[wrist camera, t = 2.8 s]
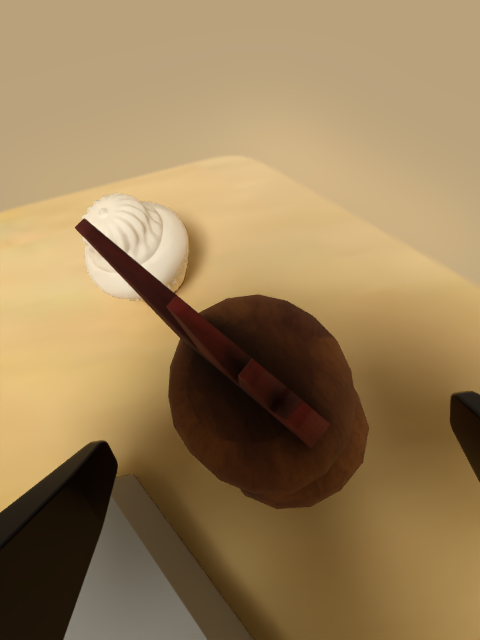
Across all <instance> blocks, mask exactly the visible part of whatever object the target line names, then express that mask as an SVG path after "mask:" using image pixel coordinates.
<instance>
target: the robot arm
mask: <svg viewBox="0 0 480 640" xmlns="http://www.w3.org/2000/svg"><path fill="white" fill-rule="evenodd" d="M450 424H451V427H452V430H453V432H454V434H455V436H456V438H457V440H458V442H459V444H460V445H461V447H462V449H463V451H464V453H465V455H466V457H467V459H468V461H469V463H470V465H471V467H472V469H473V471H474V472H475V474H476V476H477V478H478V480H479V482H480V394H477V393H475V392H472V391H465V392H457V393H454V394H452V395H451V400H450ZM117 469H118V464H117V460H116V458H115V456H114V454H113V452H112V450H111V448H110V446H109V445H108V443H107V442H106V441H103V440H101V441H94V442H90V443H89V444H87V445H86V446H85V447H83V448H82V449H81V450H80V451H78V452H77V453H76V454H74V455H73V456H72V457H71V458H69V459H68V460H67V461H66V462H64V463H63V464H62V465H60V466H59V467H58V468H57V469H55V470H54V471H53V472H52V473H50V474H49V475H48V476H46V477H45V478H44V479H43V480H41V481H40V482H39V483H38V484H36V485H35V486H34V487H32V488H31V489H30V490H29V491H27V492H26V493H25V494H24V495H22V496H21V497H20V498H18V499H17V500H16V501H15V502H13V503H12V504H11V505H9V506H8V507H7V508H6V509H4V510H3V511H2V512H1V513H0V640H64V637H65V634H66V631H67V628H68V625H69V623H70V620H71V617H72V614H73V611H74V608H75V605H76V603H77V600H78V597H79V594H80V591H81V588H82V586H83V583H84V580H85V577H86V574H87V571H88V568H89V566H90V563H91V560H92V557H93V554H94V551H95V548H96V546H97V543H98V540H99V537H100V534H101V531H102V528H103V524H104V521H105V517H106V514H107V510H108V506H109V502H110V498H111V494H112V490H113V486H114V482H115V478H116V474H117Z"/></svg>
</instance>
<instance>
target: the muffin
mask: <svg viewBox="0 0 480 640" xmlns="http://www.w3.org/2000/svg"><path fill="white" fill-rule="evenodd" d="M87 212H88V213H86V214H85V215H84V216H83V217H82V220H83V219H84V218H85V219H86V220H87V221H89V222H90V223H91V224H92V225H93V226H95V227H96V228H97V229H98V230H99V231H101V232H102V233H103V234H104V235H105V236H107V237H108V238H109V239H110V240H111V241H113V242H114V243H115V244H116V245H117V246H119V247H120V248H121V249H122V250H123V251H124V252H126V253H127V254H128V255H129V256H130V257H132V258H133V259H134V260H135V261H136V262H138V263H139V264H140V265H141V266H142V267H144V268H145V269H146V270H147V271H148V272H150V273H151V274H152V275H153V276H154V277H156V278H157V279H158V280H159V281H160V282H162V283H163V284H164V285H165V286H166V287H168V288H169V289H170V290H171V291H172V292H174V293H175V291H176V290H178V288H179V287H180V286H181V283H182V282H183V280H184V277H185V273H186V268H187V263H188V252H189V248H188V235H187V231H186V229H185V226H184V225H183V223H182V221H181V220H180V218H179V217H178V216H177V215H176V214H175V213H174V212H173V211H172V210H171V209H169V208H167V207H165V206H163V205H161V204H157V203H153V202H146V201H138V200H137V199H136V198H135V197H133V196H130V195H125V194H121V193H114V194H112V195H105V196H103V197H102V198H101V200H96V201H95V202H94V204H93V206H91V207H88V208H87ZM82 240H83V242H84V243H85V244H86V248H85V264H86V268H87V271H88V274H89V276H90V277H91V279H92V280H93V282H94V283H95V284H96V285H97V286H98V287H99V288H100V289H101V290H102V291H104V292H105V293H107V294H108V295H111V296H113V297H116V298H120V299H128V300H130V301H131V300H137V301H144V300H143V299H142V298H141V297H140V296H139V295H138V294H137V293H136V292H135V291H134V289H133V288H132V287H131V286H130V285H129V284H128V283H127V282H126V281H125V280H124V279H123V278H122V277H121V276H120V275H119V274H118V273H117V272H116V271H115V270H114V269H113V267H112V266H111V265H110V264H109V263H108V262H107V261H106V260H105V259H104V258H103V257H102V256H101V255H100V254H99V253H98V252H97V251H96V250H95V249H94V248H93V247H92V245H91V244H90V243H89V242H88V241H87V240H86V239H85V238H84V237H83V236H82Z"/></svg>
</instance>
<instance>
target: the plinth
mask: <svg viewBox="0 0 480 640" xmlns="http://www.w3.org/2000/svg"><path fill="white" fill-rule="evenodd" d="M64 640H253V638H252V637H251V635H250V634H249V633H248V631H247V630H246V629H245V627H244V626H243V624H242V623H241V622H240V620H239V619H238V618H237V616H236V615H235V613H234V612H233V611H232V609H231V608H230V607H229V605H228V604H227V602H226V601H225V600H224V598H223V597H222V596H221V594H220V593H219V591H218V590H217V589H216V587H215V586H214V584H213V583H212V582H211V580H210V579H209V578H208V576H207V575H206V573H205V572H204V571H203V569H202V568H201V567H200V565H199V564H198V562H197V561H196V560H195V558H194V557H193V556H192V554H191V553H190V551H189V550H188V549H187V547H186V546H185V545H184V543H183V542H182V540H181V539H180V538H179V536H178V535H177V533H176V532H175V531H174V529H173V528H172V527H171V525H170V524H169V522H168V521H167V520H166V518H165V517H164V516H163V514H162V513H161V511H160V510H159V509H158V507H157V506H156V505H155V503H154V502H153V500H152V499H151V498H150V496H149V495H148V494H147V492H146V491H145V489H144V488H143V487H142V485H141V484H140V482H139V481H138V480H137V478H136V477H135V476H134V474H133V475H128V476H122V477H116V478H115V482H114V486H113V490H112V494H111V498H110V502H109V506H108V510H107V514H106V517H105V521H104V524H103V528H102V531H101V534H100V537H99V540H98V543H97V546H96V548H95V551H94V554H93V557H92V560H91V563H90V566H89V568H88V571H87V574H86V577H85V580H84V583H83V586H82V588H81V591H80V594H79V597H78V600H77V603H76V605H75V608H74V611H73V614H72V617H71V620H70V623H69V625H68V628H67V631H66V634H65V637H64Z"/></svg>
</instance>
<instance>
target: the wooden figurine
mask: <svg viewBox="0 0 480 640" xmlns="http://www.w3.org/2000/svg"><path fill="white" fill-rule="evenodd" d="M75 228H76V230H77V231H78V232H79V233H80V234H81V235H82V236H83V237H84V238H85V239H86V240H87V241H88V242H89V243H90V244H91V245H92V247H93V248H94V249H95V250H96V251H97V252H98V253H99V254H100V255H101V256H102V257H103V258H104V259H105V260H106V261H107V262H108V263H109V264H110V265H111V266H112V267H113V269H114V270H115V271H116V272H117V273H118V274H119V275H120V276H121V277H122V278H123V279H124V280H125V281H126V282H127V283H128V284H129V285H130V286H131V287H132V288H133V289H134V291H135V292H136V293H137V294H138V295H139V296H140V297H141V298H142V299H143V300H144V301H145V302H146V303H147V304H148V305H149V306H150V307H151V308H152V309H153V310H154V311H155V313H156V314H157V315H158V316H159V317H160V318H161V319H162V320H163V321H164V322H165V323H166V324H167V325H168V326H169V327H170V328H171V329H172V330H173V331H174V332H175V333H176V334H177V335H178V336H179V337H180V341H179V344H178V346H177V349H176V352H175V355H174V357H173V360H172V363H171V366H170V378H169V394H168V397H169V403H170V408H171V413H172V418H173V423H174V427H175V429H176V430H177V432H178V433H179V435H180V437H181V438H182V440H183V441H184V443H185V445H186V446H187V448H188V450H189V451H190V453H191V454H192V455H193V456H195V457H196V458H197V459H198V460H199V461H200V462H201V463H202V464H203V465H204V466H205V467H206V468H208V469H209V470H210V471H211V472H212V473H213V474H214V475H215V476H216V477H217V478H218V479H219V480H221V481H224V482H226V483H229V484H231V485H234V486H236V487H238V488H240V490H241V491H242V492H243V493H244V495H246V496H248V497H250V498H253V499H255V500H257V501H260V502H262V503H264V504H267V505H269V506H271V507H274V508H276V509H281V508H296V507H311V506H313V505H315V504H317V503H318V502H320V501H322V500H324V499H325V498H327V497H329V496H331V495H333V494H334V493H336V492H338V491H340V490H341V489H342V488H343V486H344V485H345V484H346V483H347V481H348V480H349V479H350V478H351V476H352V475H353V474H354V473H355V471H356V470H357V469H358V468H359V466H360V465H361V464H362V463H363V458H364V452H365V446H366V440H367V435H368V431H369V426H368V423H367V420H366V417H365V414H364V411H363V408H362V405H361V402H360V399H359V396H358V394H357V392H356V390H355V389H354V387H353V380H352V374H351V369H350V367H349V365H348V363H347V361H346V359H345V357H344V354H343V352H342V350H341V348H340V346H339V344H338V342H337V340H336V339H335V338H334V337H333V336H332V335H331V334H330V333H329V332H328V331H327V330H326V329H325V328H324V327H323V326H322V325H321V324H320V323H319V321H318V320H317V319H316V318H314V317H313V316H312V315H310V314H309V313H307V312H305V311H303V310H302V309H300V308H298V307H296V306H295V305H293V304H291V303H289V302H288V301H285V300H280V299H276V298H271V297H267V296H262V295H251V296H243V297H235V298H228V299H225V300H223V301H221V302H219V303H217V304H215V305H213V306H211V307H209V308H207V309H205V310H203V311H202V312H200V313H197V312H196V311H195V310H194V309H193V308H191V307H190V306H189V305H188V304H187V303H185V302H184V301H183V300H182V299H181V298H179V297H178V296H177V295H176V294H175V293H174V292H172V291H171V290H170V289H169V288H168V287H166V286H165V285H164V284H163V283H162V282H160V281H159V280H158V279H157V278H156V277H154V276H153V275H152V274H151V273H150V272H148V271H147V270H146V269H145V268H144V267H142V266H141V265H140V264H139V263H138V262H136V261H135V260H134V259H133V258H132V257H130V256H129V255H128V254H127V253H126V252H124V251H123V250H122V249H121V248H120V247H119V246H117V245H116V244H115V243H114V242H113V241H111V240H110V239H109V238H108V237H107V236H105V235H104V234H103V233H102V232H101V231H99V230H98V229H97V228H96V227H95V226H93V225H92V224H91V223H90V222H89V221H87V220H86V219H85V218H84V219H83V220H82V221H81V222H80V223H79V224H78V225H77V226H76V227H75Z"/></svg>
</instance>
